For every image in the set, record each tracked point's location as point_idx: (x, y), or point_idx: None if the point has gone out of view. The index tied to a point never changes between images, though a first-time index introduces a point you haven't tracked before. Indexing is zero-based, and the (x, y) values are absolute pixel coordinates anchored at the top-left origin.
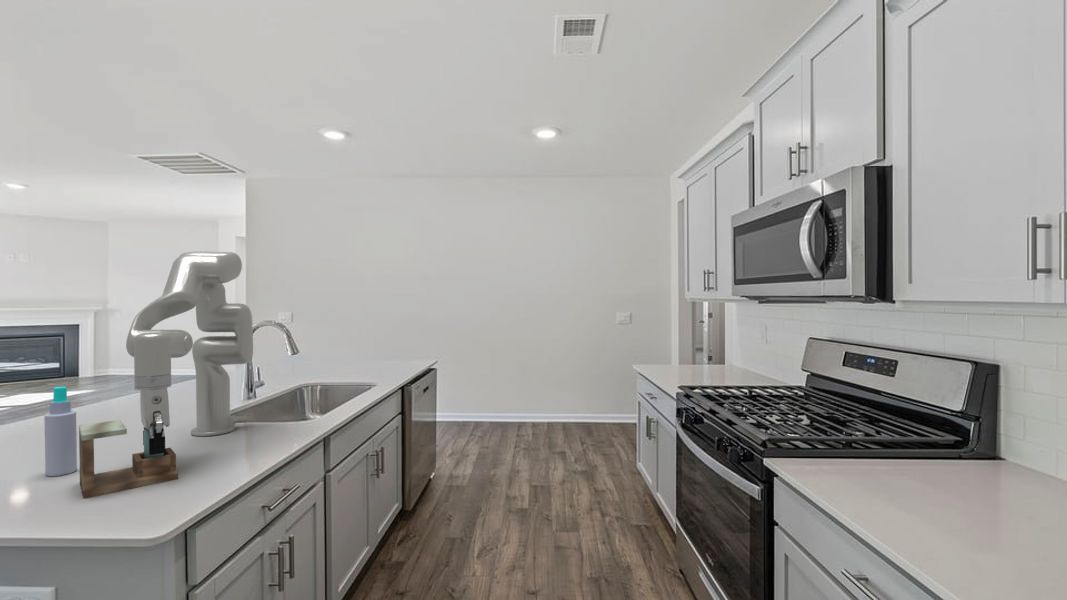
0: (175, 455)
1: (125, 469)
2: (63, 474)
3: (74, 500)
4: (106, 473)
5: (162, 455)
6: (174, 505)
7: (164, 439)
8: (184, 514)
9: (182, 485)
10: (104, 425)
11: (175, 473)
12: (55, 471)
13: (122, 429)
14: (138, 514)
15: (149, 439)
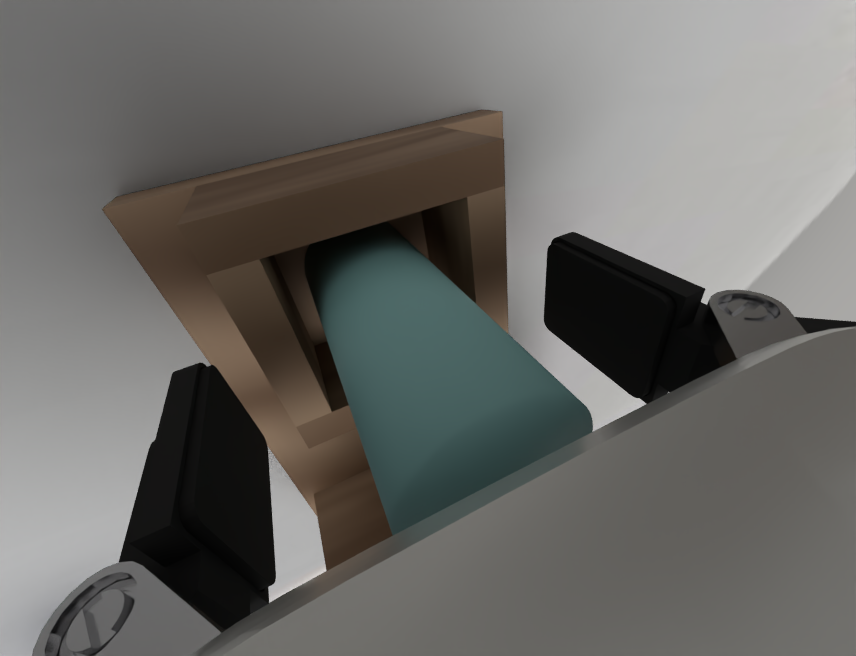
0: (499, 143)
1: (275, 409)
2: None
3: None
4: (313, 455)
5: (413, 251)
6: (766, 117)
7: (670, 279)
8: (849, 80)
9: (599, 84)
10: None
11: (500, 129)
12: None
13: None
14: (731, 222)
15: (662, 393)
